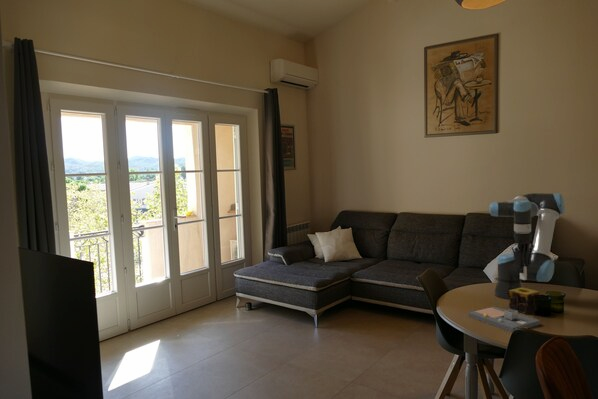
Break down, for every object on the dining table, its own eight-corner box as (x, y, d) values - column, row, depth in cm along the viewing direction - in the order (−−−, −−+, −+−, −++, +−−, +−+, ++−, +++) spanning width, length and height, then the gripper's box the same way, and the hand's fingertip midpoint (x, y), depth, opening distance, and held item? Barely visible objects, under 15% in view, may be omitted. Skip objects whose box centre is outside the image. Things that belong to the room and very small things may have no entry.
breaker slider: (504, 317, 195) (504, 309, 195) (510, 315, 197) (510, 308, 197) (511, 319, 192) (511, 312, 192) (517, 318, 194) (517, 310, 193)
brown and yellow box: (527, 315, 205) (527, 294, 204) (508, 309, 214) (508, 290, 213) (540, 311, 209) (540, 291, 209) (521, 306, 218) (521, 286, 218)
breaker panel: (468, 316, 205) (468, 310, 205) (494, 310, 213) (494, 303, 213) (512, 332, 184) (512, 325, 184) (539, 324, 192) (539, 317, 191)
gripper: (519, 234, 202) (520, 283, 204) (538, 231, 207) (539, 278, 209) (506, 232, 209) (507, 279, 211) (525, 229, 214) (525, 275, 216)
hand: (523, 279), depth 210 cm, fingers closed
